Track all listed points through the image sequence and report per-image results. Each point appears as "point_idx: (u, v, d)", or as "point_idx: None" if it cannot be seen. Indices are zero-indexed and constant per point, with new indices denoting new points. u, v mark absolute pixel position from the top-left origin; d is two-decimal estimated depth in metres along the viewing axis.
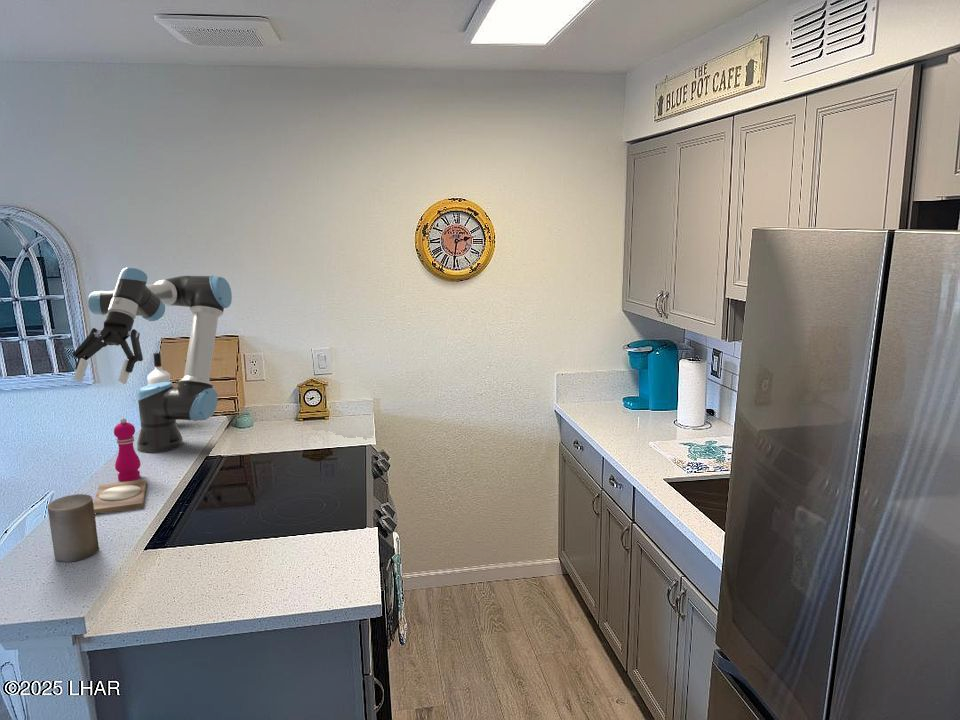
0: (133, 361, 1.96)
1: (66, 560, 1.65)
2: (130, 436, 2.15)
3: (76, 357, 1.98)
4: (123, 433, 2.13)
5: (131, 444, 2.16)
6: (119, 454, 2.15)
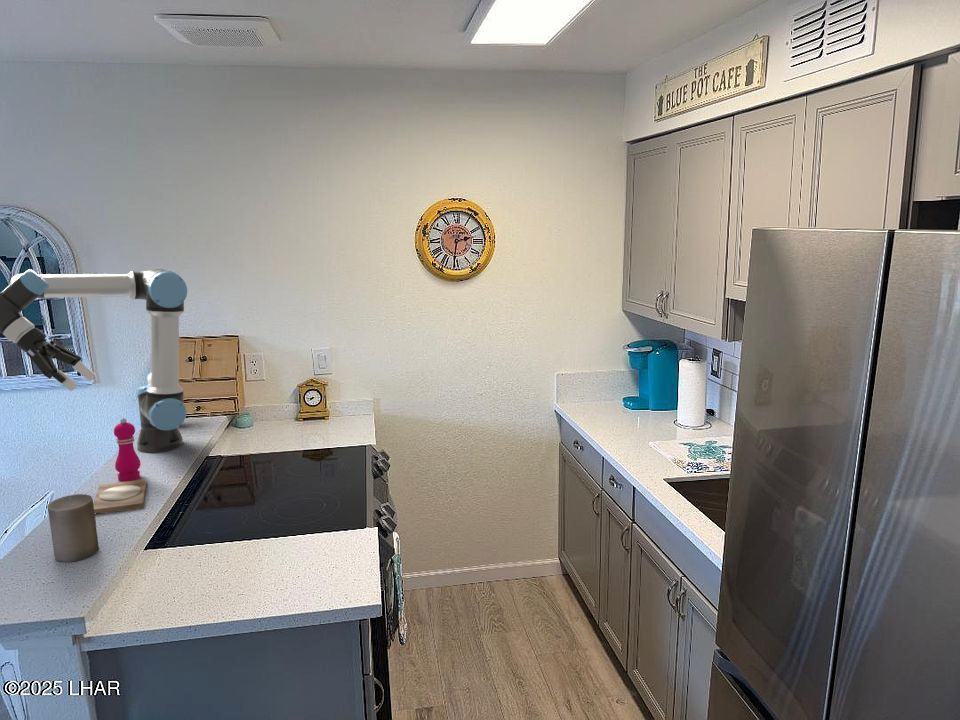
0: (53, 375, 2.01)
1: (66, 560, 1.65)
2: (130, 436, 2.15)
3: None
4: (123, 433, 2.13)
5: (131, 444, 2.16)
6: (119, 454, 2.15)
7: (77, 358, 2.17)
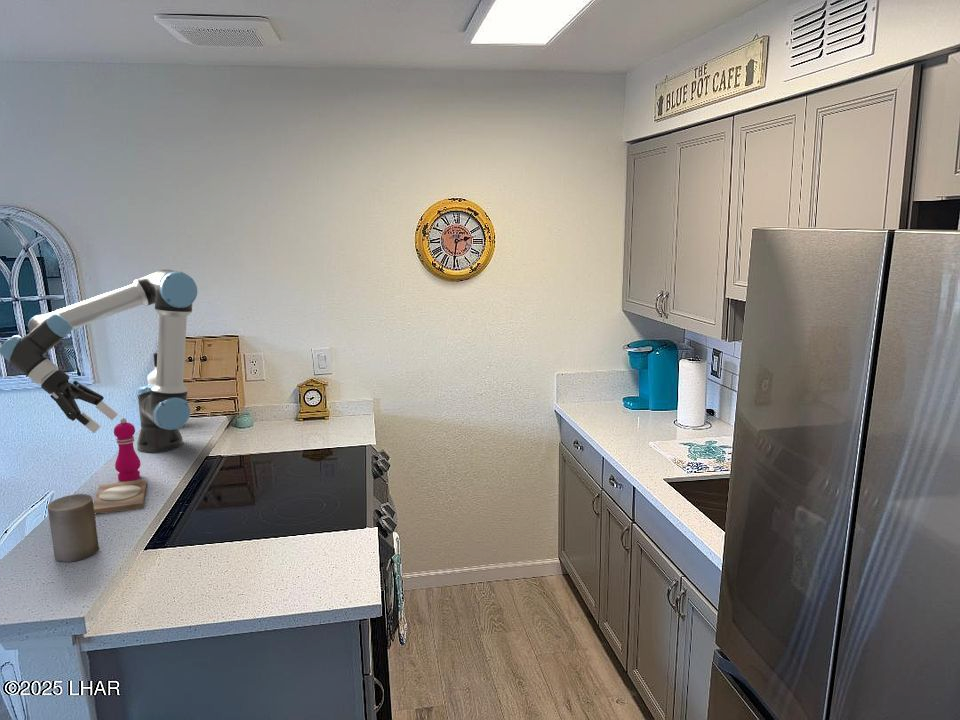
0: (77, 417, 2.04)
1: (66, 560, 1.65)
2: (130, 436, 2.15)
3: None
4: (123, 433, 2.13)
5: (131, 444, 2.16)
6: (119, 454, 2.15)
7: (100, 397, 2.20)
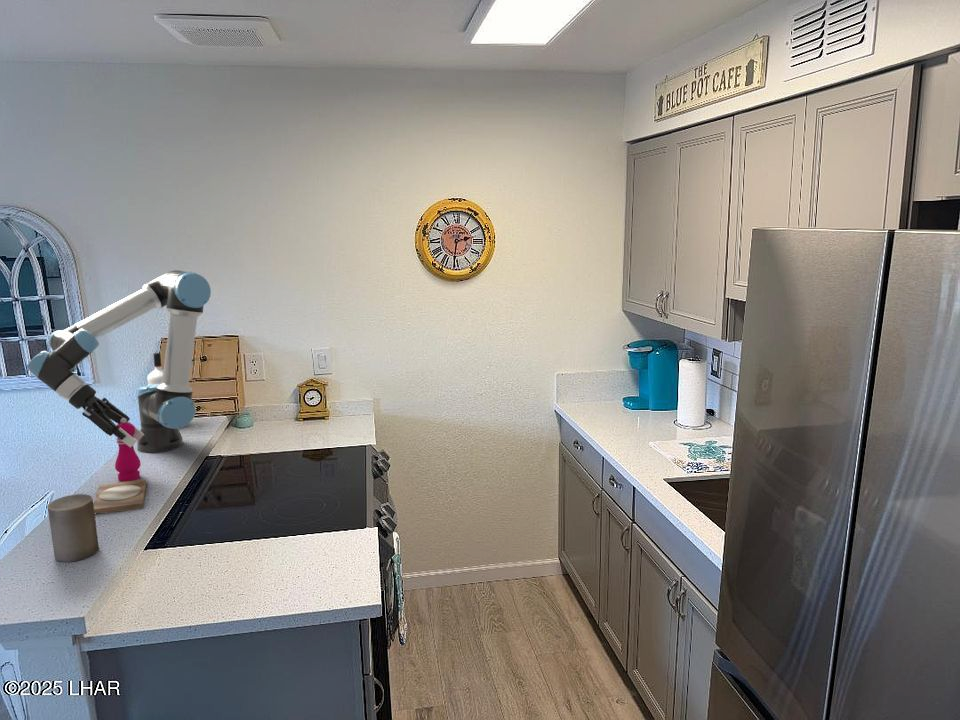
0: (114, 432, 2.10)
1: (66, 560, 1.65)
2: None
3: None
4: None
5: None
6: (119, 454, 2.15)
7: (126, 418, 2.19)
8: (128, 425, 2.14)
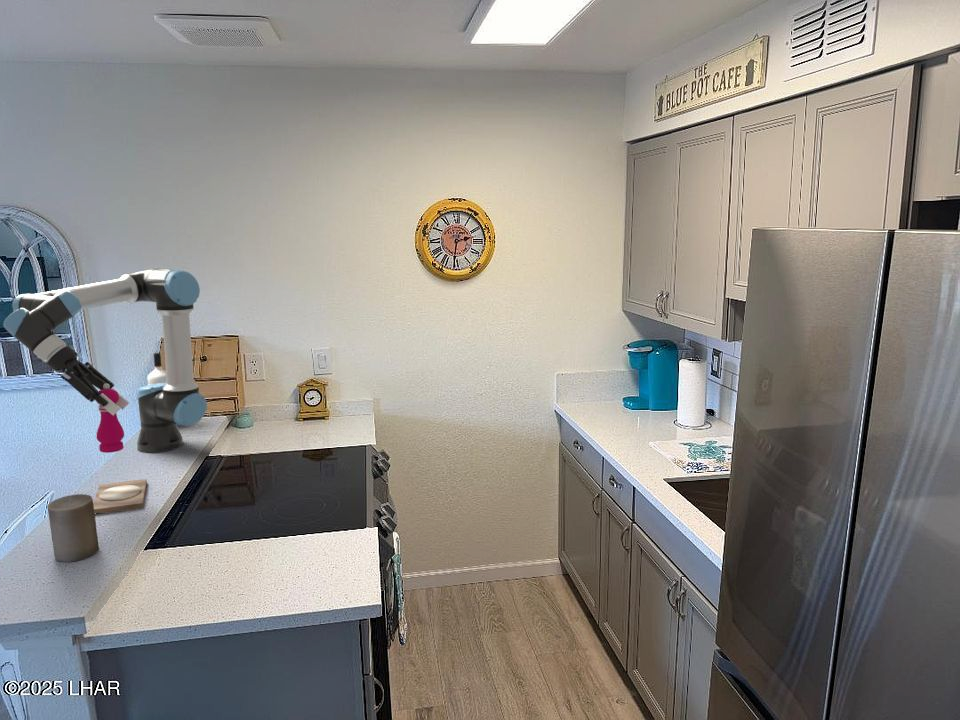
0: (95, 398, 1.94)
1: (66, 560, 1.65)
2: None
3: None
4: None
5: None
6: (101, 423, 1.98)
7: (110, 385, 2.03)
8: (111, 391, 1.98)
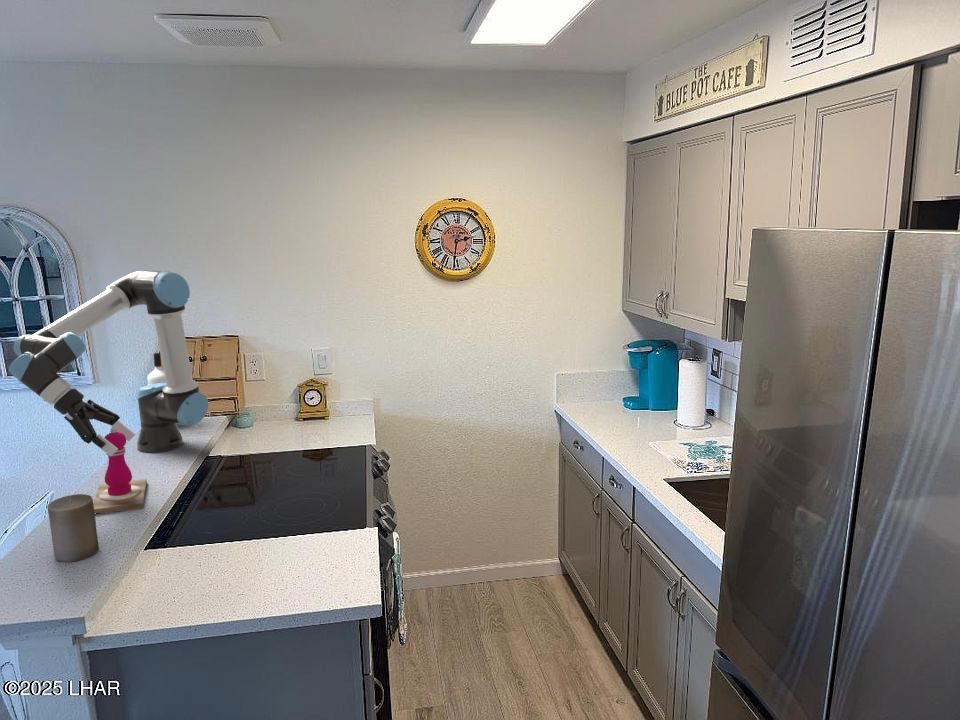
0: (92, 440, 1.90)
1: (66, 560, 1.65)
2: (121, 447, 1.99)
3: None
4: (114, 443, 1.97)
5: (122, 455, 2.00)
6: (109, 466, 1.99)
7: (115, 417, 2.06)
8: (119, 435, 1.98)
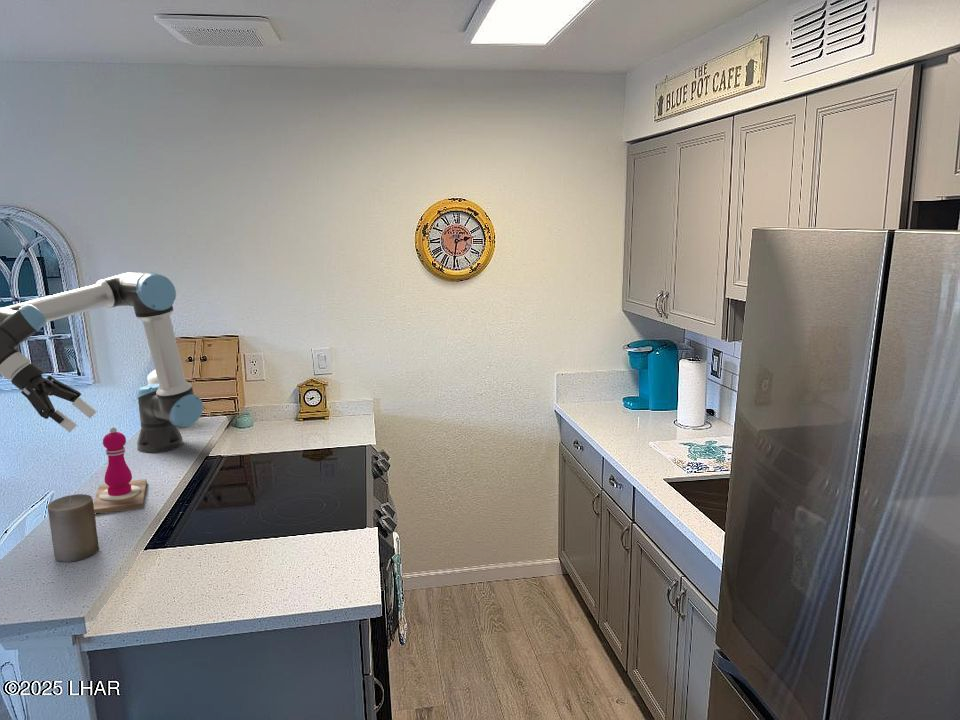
0: (50, 415, 1.87)
1: (66, 560, 1.65)
2: (120, 447, 1.99)
3: None
4: (113, 443, 1.97)
5: (122, 455, 2.00)
6: (109, 466, 1.99)
7: (76, 394, 2.03)
8: (118, 435, 1.98)
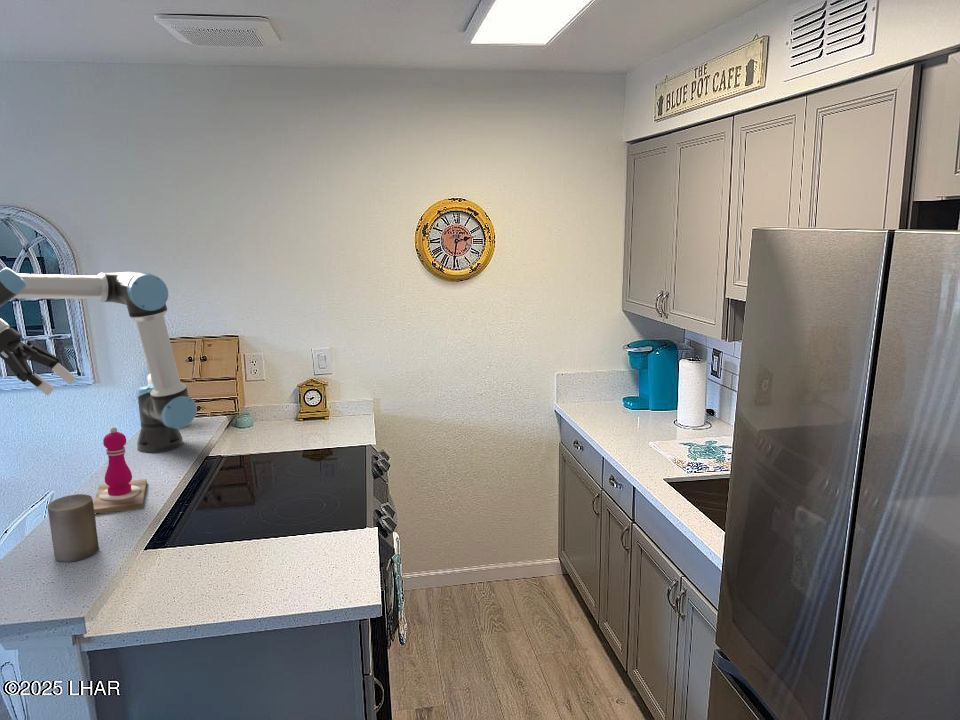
0: (28, 378, 1.88)
1: (66, 560, 1.65)
2: (121, 447, 1.99)
3: None
4: (114, 443, 1.97)
5: (122, 455, 2.00)
6: (109, 466, 1.99)
7: (56, 360, 2.04)
8: (119, 435, 1.98)
